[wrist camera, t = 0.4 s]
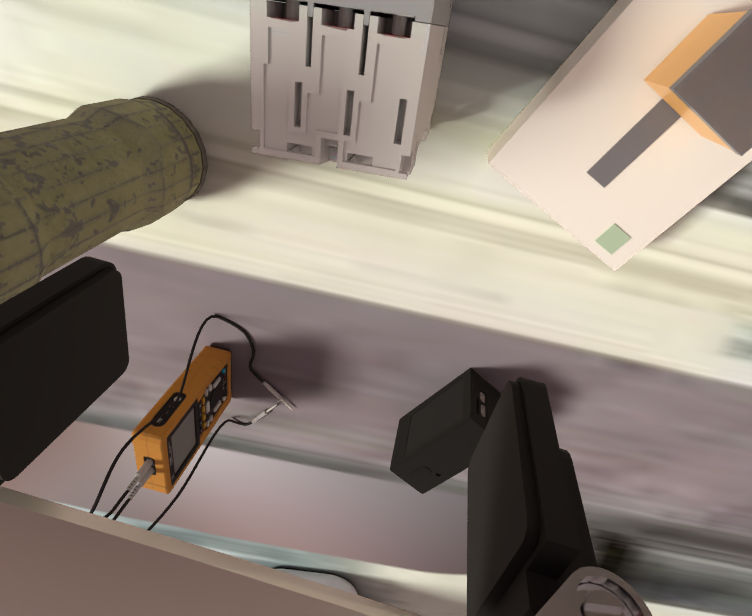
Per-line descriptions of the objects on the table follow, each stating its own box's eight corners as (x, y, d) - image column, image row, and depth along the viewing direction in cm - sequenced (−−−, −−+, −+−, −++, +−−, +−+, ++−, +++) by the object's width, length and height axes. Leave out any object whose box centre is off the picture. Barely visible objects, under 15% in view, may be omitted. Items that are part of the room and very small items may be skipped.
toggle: (708, 12, 25) (756, 8, 21) (770, 76, 26) (827, 85, 22) (642, 80, 27) (673, 89, 23) (701, 137, 28) (741, 156, 24)
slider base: (794, -203, 24) (849, -243, 20) (932, -33, 26) (1003, -42, 22) (487, 150, 35) (488, 164, 31) (601, 249, 37) (614, 271, 33)
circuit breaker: (476, -129, 27) (477, -270, 14) (430, 128, 35) (405, 185, 22) (350, -144, 28) (245, -291, 15) (332, 112, 35) (252, 158, 23)
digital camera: (435, 448, 51) (430, 502, 45) (398, 419, 50) (388, 471, 44) (509, 400, 46) (515, 454, 40) (470, 367, 45) (470, 418, 39)
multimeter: (291, 437, 54) (208, 621, 37) (210, 415, 55) (91, 587, 38) (301, 335, 46) (201, 510, 29) (206, 311, 47) (55, 469, 30)
